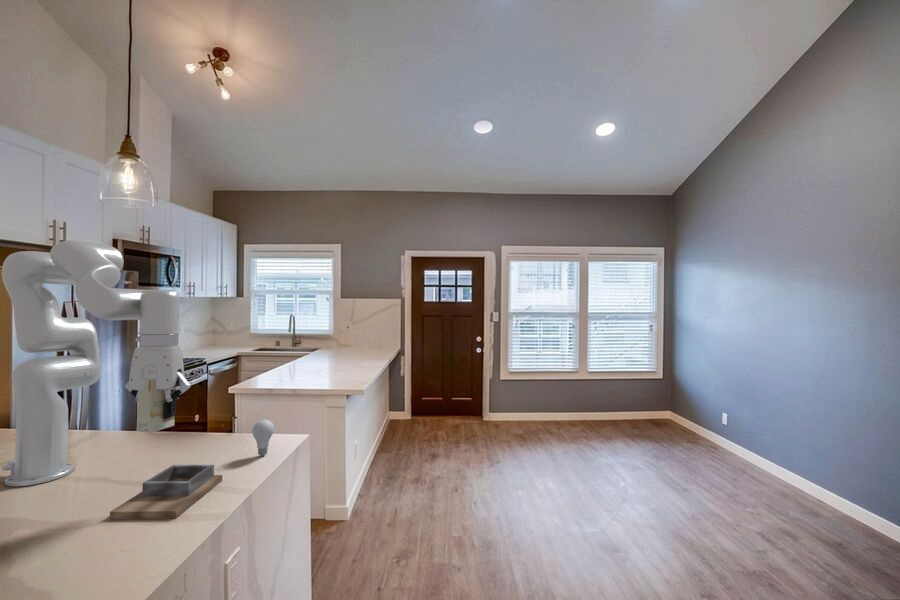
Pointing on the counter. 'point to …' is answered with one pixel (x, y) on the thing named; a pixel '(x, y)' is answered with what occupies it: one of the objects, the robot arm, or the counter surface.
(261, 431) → the lightbulb
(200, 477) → the holder board
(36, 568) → the counter surface
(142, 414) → the skincare box
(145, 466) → the counter surface
